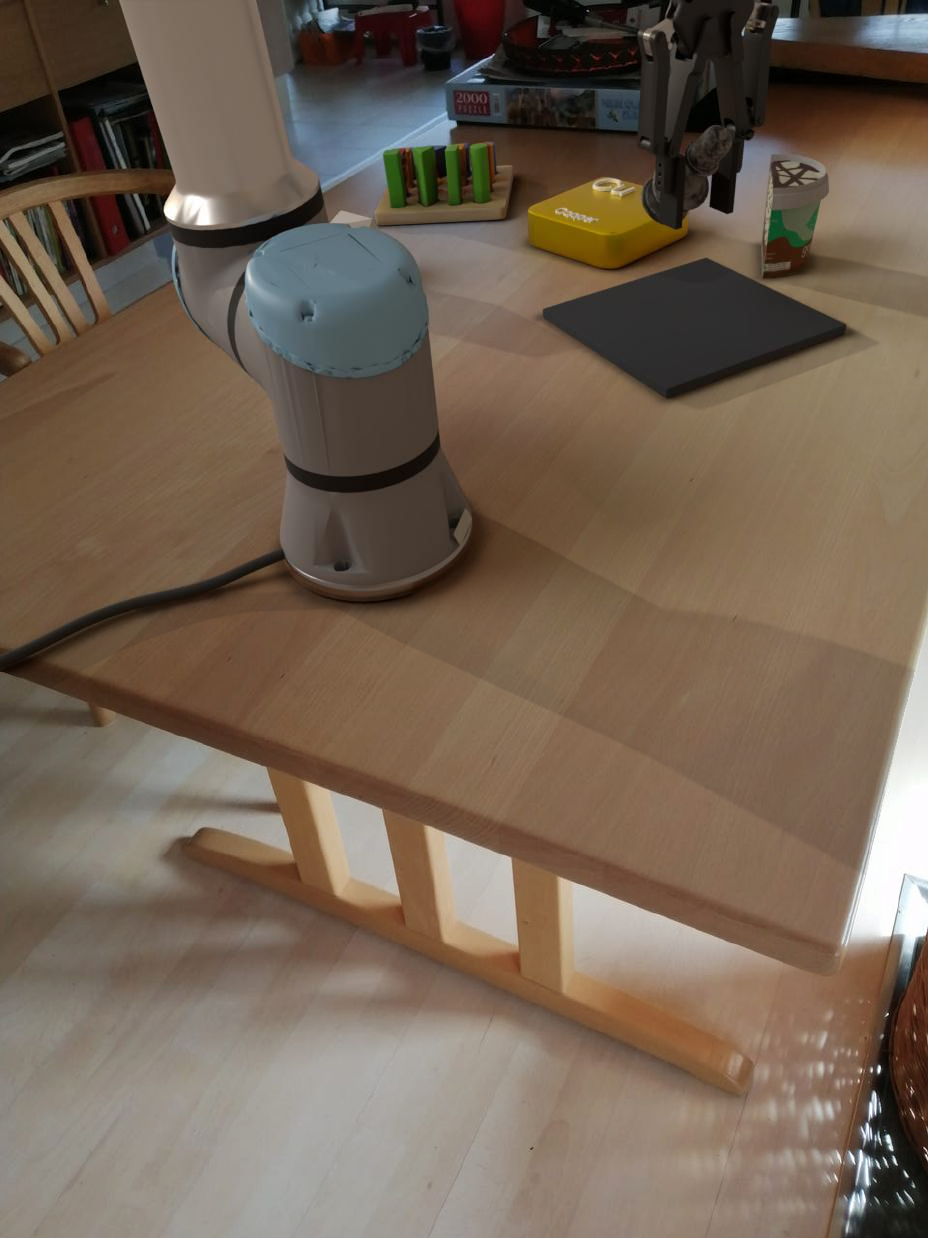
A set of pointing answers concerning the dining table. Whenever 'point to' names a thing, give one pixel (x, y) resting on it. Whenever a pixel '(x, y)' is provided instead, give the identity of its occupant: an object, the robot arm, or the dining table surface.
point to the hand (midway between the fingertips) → (695, 216)
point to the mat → (691, 325)
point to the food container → (791, 212)
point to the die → (354, 220)
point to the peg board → (444, 185)
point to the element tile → (599, 224)
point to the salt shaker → (693, 171)
